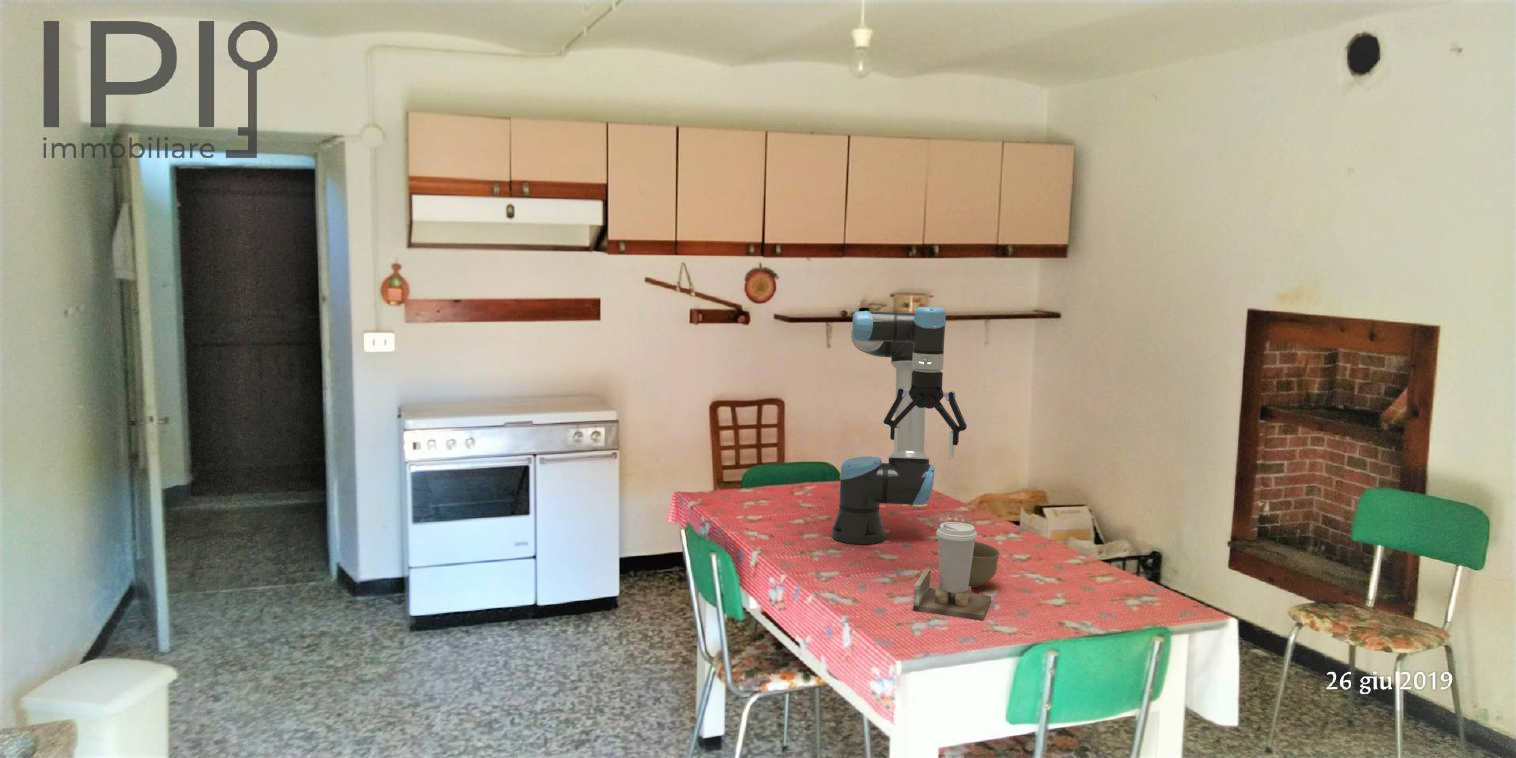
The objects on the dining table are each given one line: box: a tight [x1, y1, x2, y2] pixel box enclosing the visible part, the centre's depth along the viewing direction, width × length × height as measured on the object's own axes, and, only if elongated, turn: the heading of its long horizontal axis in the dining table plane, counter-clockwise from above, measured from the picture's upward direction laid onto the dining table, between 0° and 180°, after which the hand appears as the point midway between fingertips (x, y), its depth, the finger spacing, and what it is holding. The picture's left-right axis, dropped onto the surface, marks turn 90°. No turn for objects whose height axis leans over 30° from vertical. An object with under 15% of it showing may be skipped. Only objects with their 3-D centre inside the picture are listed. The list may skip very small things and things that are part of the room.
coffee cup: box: [935, 521, 979, 593], centre depth 238 cm, size 10×10×15 cm
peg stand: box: [912, 567, 992, 621], centre depth 239 cm, size 16×14×6 cm
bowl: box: [969, 541, 1000, 589], centre depth 254 cm, size 13×13×10 cm
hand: (923, 455), depth 251 cm, fingers open, 13 cm apart
